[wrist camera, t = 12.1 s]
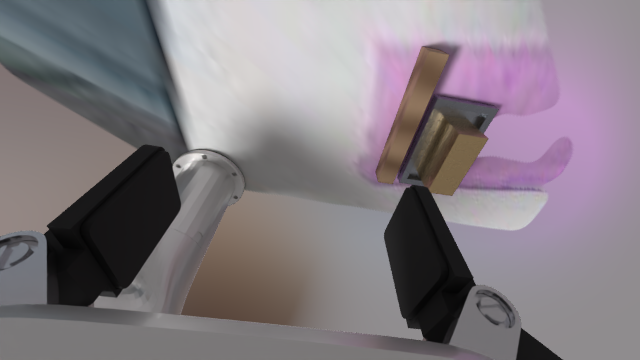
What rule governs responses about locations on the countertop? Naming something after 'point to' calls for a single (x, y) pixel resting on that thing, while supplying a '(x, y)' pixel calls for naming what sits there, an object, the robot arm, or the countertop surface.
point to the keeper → (439, 106)
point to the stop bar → (450, 154)
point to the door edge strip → (410, 111)
